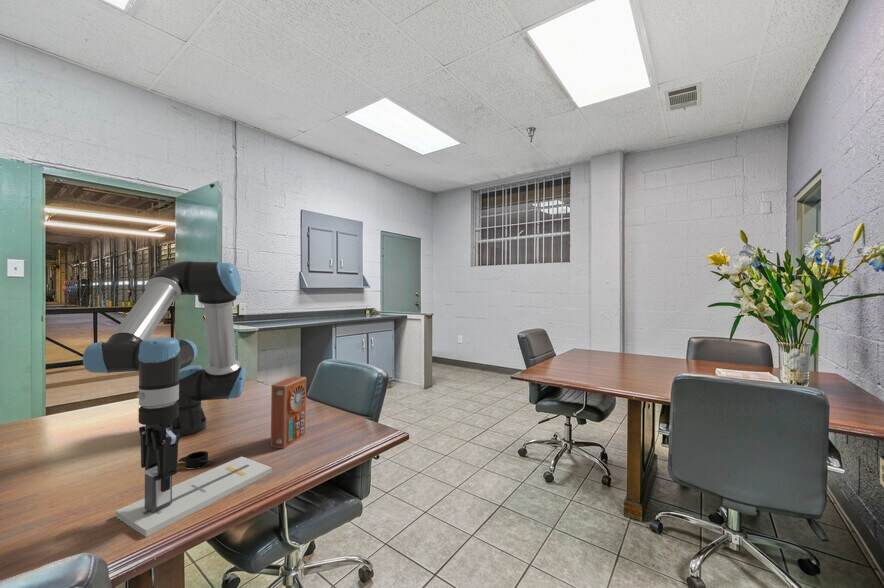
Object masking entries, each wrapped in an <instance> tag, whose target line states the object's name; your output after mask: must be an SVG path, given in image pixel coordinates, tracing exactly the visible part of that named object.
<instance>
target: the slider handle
mask: <svg viewBox="0 0 884 588" xmlns="http://www.w3.org/2000/svg"><path fill="white" fill-rule="evenodd" d="M156 477H158V468H157V466H156V467H153V468H150V469H148V470H145V469H144V498H145V509H147V510H148V511H150V512H152V513H153V512H155V511H157V510H159V509H162V508H164V507H166V506H168V505H170V504H172V486H173V475H172V476H171V497H170V501H169V502H167V503H165V504H163V505H160V506H158V507H156V481H155V478H156Z"/></svg>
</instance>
